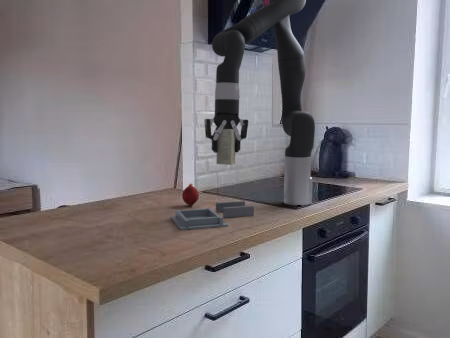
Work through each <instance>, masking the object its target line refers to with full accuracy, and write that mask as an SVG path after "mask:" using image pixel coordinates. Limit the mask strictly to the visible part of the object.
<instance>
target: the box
mask: <svg viewBox="0 0 450 338" xmlns="http://www.w3.org/2000/svg"><path fill="white" fill-rule="evenodd" d="M217 130H218V129H217ZM217 141H218V149H217V153H216V160H215V161H216V165H224V166H231V165H235V164H236V152H235V142H236V136H235V133H234V130H233V129H223V130H222V132H221V133H220V135H219V136H218V138H217Z"/></svg>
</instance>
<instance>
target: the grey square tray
mask: <svg viewBox="0 0 450 338" xmlns="http://www.w3.org/2000/svg"><path fill="white" fill-rule="evenodd" d="M170 219H171V220H172V222H173V223H174V225H176V227H177V228H178V229H179V230H180V231H184V230H197V229H200V230H201V229H208V228H222V227H229V223H227V222H225V221H224V217H223V216H221V215H220V214H219V213H218V212H216V211H214V210H213V208H210V207H206V208H196V209H181V210H180V209H175V215H173V216H170Z"/></svg>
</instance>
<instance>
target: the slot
mask: <svg viewBox="0 0 450 338" xmlns="http://www.w3.org/2000/svg"><path fill="white" fill-rule="evenodd" d="M215 212H216V213H222V218H223V219H226V218H238V217H240V218H241V217H253V216H255V206H254V205H246V201H245V200H236V201H222V202H221V201H220V202H219V201H218V202H215Z"/></svg>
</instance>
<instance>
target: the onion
mask: <svg viewBox="0 0 450 338" xmlns="http://www.w3.org/2000/svg"><path fill="white" fill-rule="evenodd" d="M199 194H200V193H199V191H198V190H197V188H196V187H194V186H193V183H189V184H188V186H186V187H185V188H184V189H183V191H182V200H183V202H184V203H185V204H186V205H188V206H189V207H192V206H193V205H194V204H196V202H198V200H199V197H200V195H199Z"/></svg>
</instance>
